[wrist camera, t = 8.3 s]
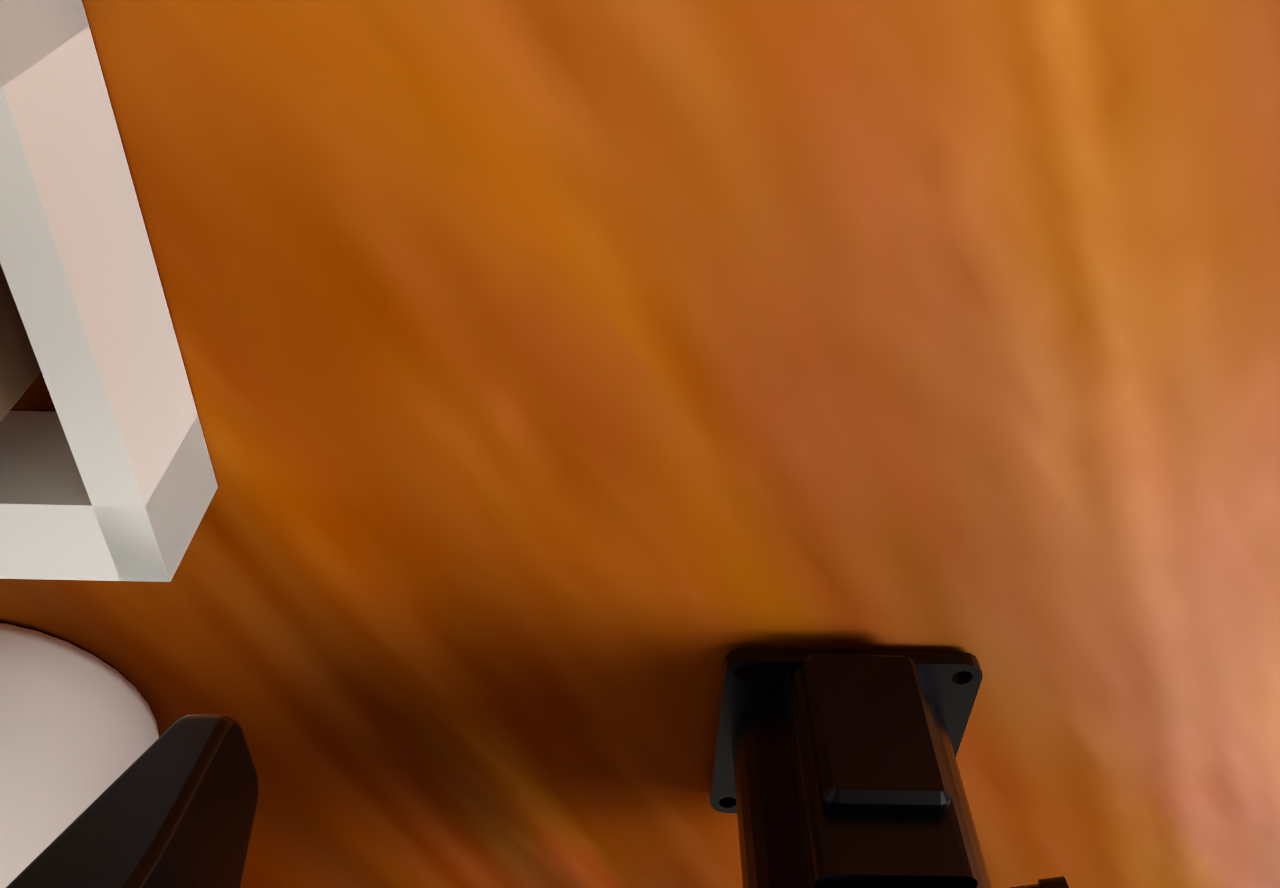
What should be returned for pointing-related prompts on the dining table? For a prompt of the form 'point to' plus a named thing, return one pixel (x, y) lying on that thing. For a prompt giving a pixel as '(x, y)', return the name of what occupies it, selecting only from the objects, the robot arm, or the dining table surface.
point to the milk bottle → (59, 739)
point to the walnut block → (13, 352)
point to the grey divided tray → (86, 328)
